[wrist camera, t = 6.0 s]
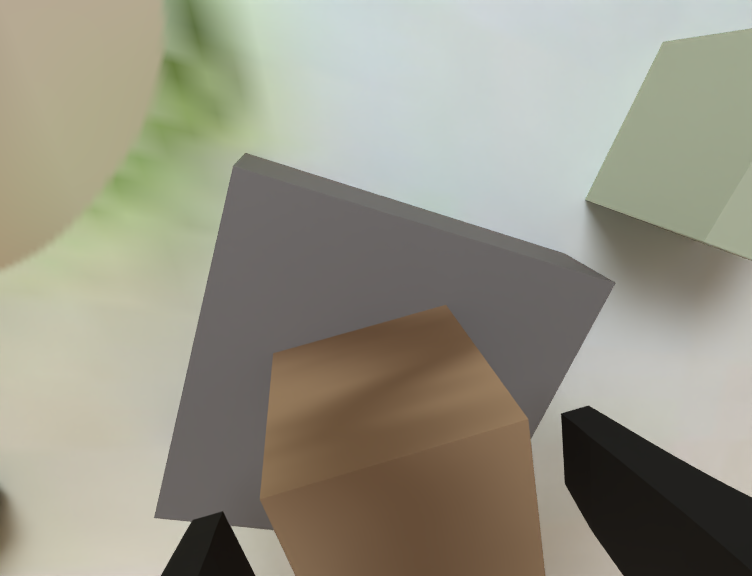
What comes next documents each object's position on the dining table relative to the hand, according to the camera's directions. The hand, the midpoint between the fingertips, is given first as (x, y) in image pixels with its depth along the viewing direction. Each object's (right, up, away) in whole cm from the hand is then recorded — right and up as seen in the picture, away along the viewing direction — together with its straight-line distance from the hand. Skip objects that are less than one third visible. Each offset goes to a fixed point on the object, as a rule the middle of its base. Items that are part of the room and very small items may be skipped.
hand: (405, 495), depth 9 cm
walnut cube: (0, +1, +3) cm, 3 cm away
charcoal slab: (-1, +2, +6) cm, 6 cm away
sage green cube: (+9, +8, +4) cm, 13 cm away
